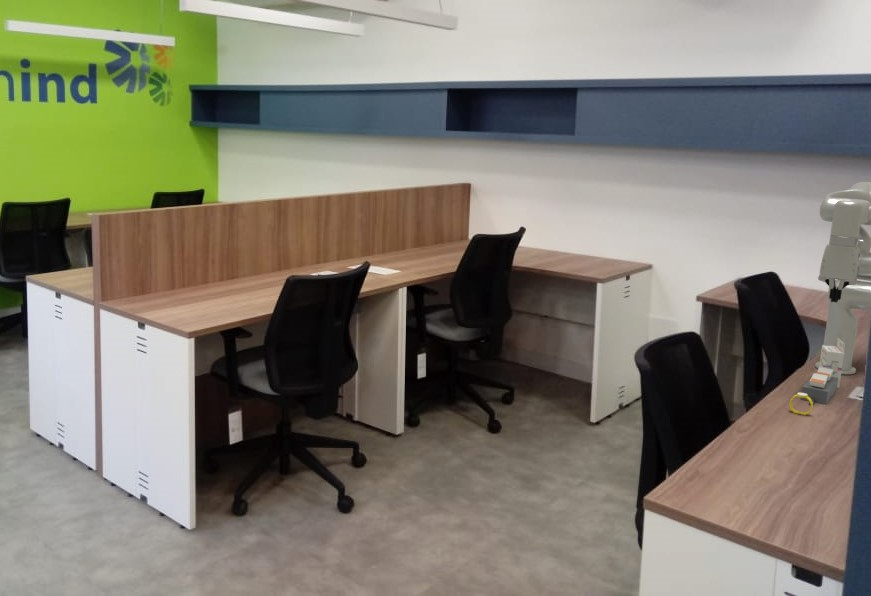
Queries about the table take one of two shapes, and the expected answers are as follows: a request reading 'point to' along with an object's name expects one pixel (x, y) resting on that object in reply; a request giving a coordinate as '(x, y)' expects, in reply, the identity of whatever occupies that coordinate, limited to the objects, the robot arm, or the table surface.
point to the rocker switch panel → (820, 391)
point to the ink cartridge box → (833, 359)
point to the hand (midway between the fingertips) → (834, 301)
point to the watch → (802, 397)
